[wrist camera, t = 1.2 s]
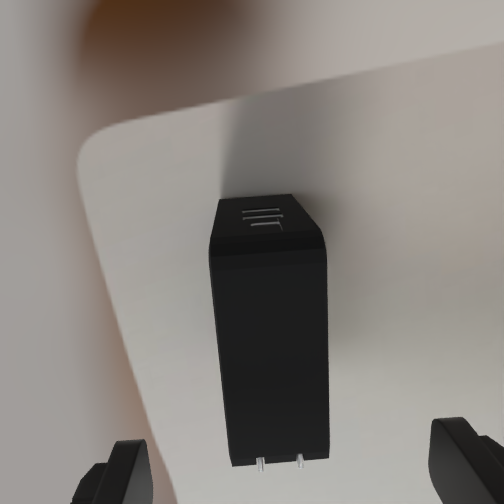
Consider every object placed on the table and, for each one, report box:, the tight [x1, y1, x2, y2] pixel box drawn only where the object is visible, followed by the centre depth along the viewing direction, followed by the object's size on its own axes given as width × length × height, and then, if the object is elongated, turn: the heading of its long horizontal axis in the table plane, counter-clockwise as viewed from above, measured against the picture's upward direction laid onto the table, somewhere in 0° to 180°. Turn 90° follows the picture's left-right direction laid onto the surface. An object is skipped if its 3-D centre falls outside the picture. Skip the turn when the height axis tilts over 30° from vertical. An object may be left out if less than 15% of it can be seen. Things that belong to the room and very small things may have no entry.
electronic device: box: [209, 194, 330, 472], centre depth 20 cm, size 4×10×10 cm, turn 4°
